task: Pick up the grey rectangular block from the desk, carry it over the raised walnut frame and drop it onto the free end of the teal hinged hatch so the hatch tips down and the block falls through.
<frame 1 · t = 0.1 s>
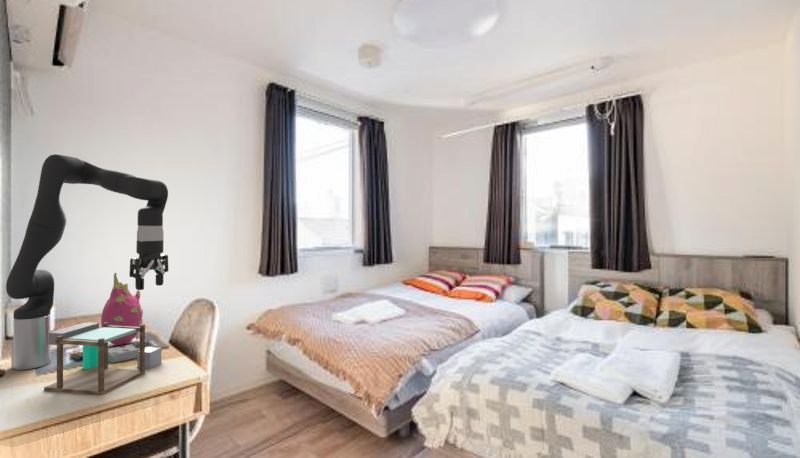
hand: (149, 287, 125), 29 cm above the table, fingers open, 8 cm apart
pink dragon fruit: (122, 345, 153), on the table
trapdoor: (94, 334, 118), point 15 cm above the table, hinge at 0.0°
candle: (93, 366, 131), on the table
handheld gaming device: (132, 357, 141), on the table
grey rectangular block: (149, 364, 133), on the table
frame: (84, 380, 119), on the table
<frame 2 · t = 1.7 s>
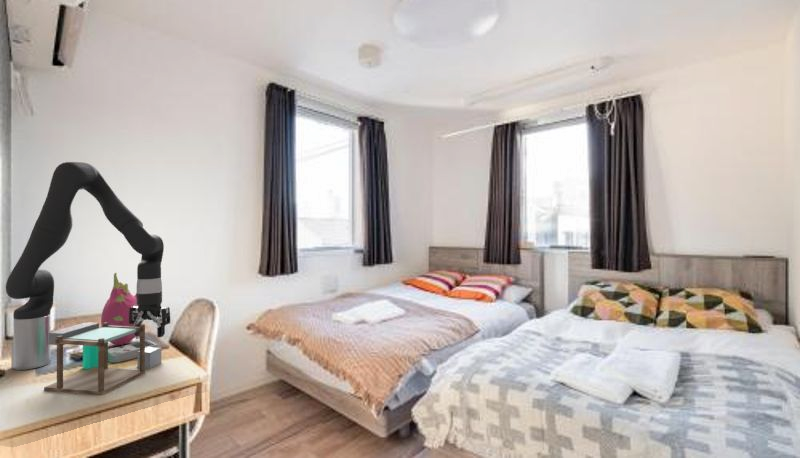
hand: (149, 336, 132), 10 cm above the table, fingers open, 8 cm apart
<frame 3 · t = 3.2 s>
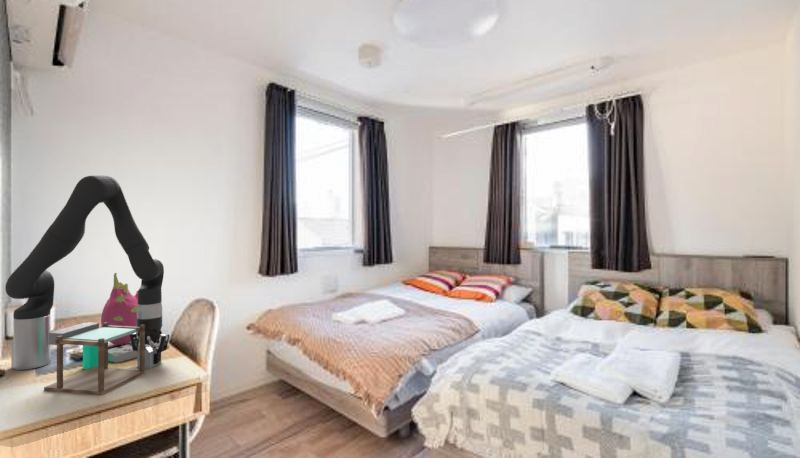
hand: (149, 362, 133), 1 cm above the table, fingers closed on grey rectangular block, 5 cm apart
grey rectangular block: (149, 364, 133), on the table, touching gripper
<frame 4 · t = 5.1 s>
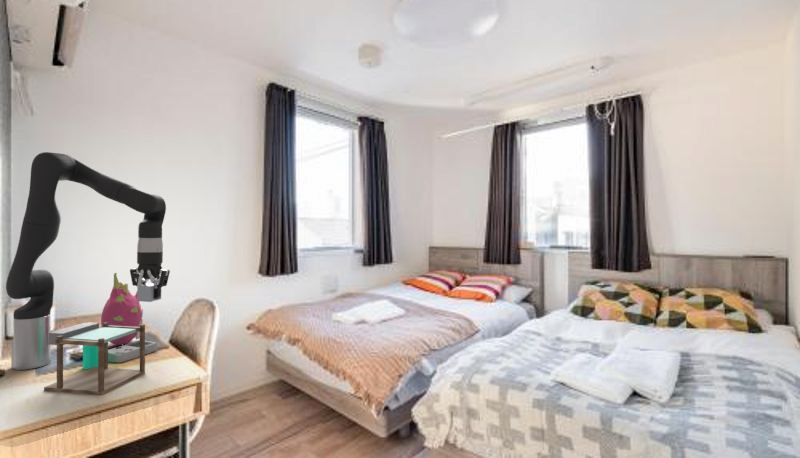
hand: (149, 297, 132), 24 cm above the table, fingers closed on grey rectangular block, 5 cm apart
grey rectangular block: (149, 300, 132), point 23 cm above the table, touching gripper
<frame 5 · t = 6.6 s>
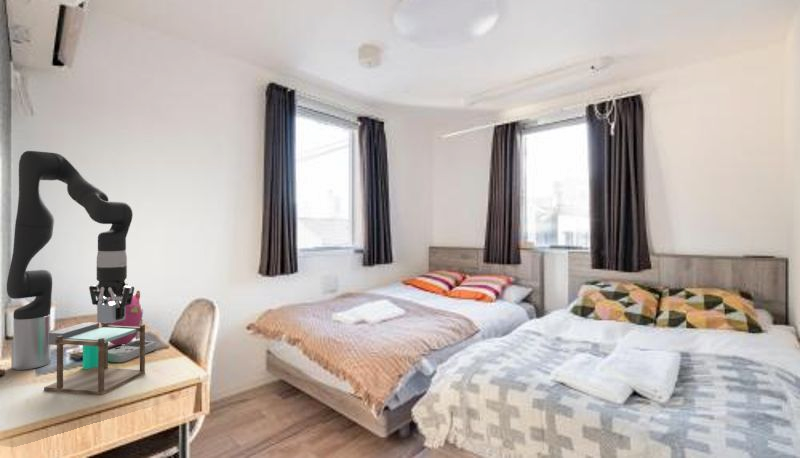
hand: (111, 318, 117), 20 cm above the table, fingers closed on grey rectangular block, 5 cm apart
grey rectangular block: (111, 320, 117), point 20 cm above the table, touching gripper
when the fingers open (19 cm above the table, at t = 7.1 s): grey rectangular block drops 13 cm and tips over, point 5 cm above the table.
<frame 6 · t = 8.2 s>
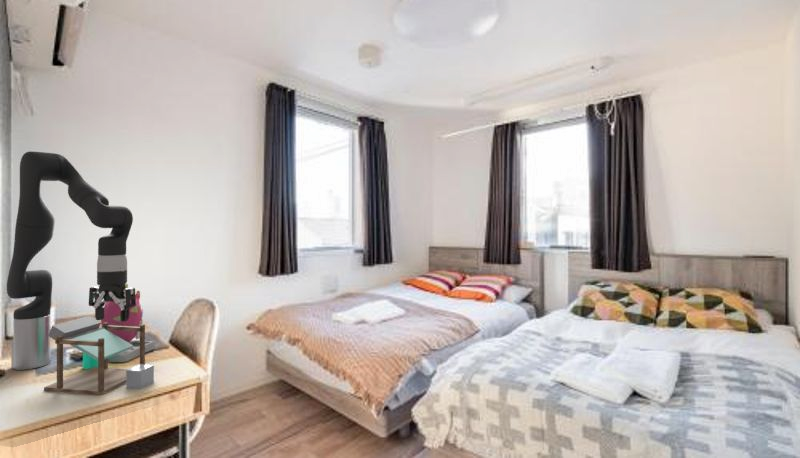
hand: (112, 320, 117), 20 cm above the table, fingers open, 8 cm apart
trapdoor: (93, 339, 118), point 13 cm above the table, hinge at -25.5°
grey rectangular block: (140, 367, 117), point 5 cm above the table, tilted 180°
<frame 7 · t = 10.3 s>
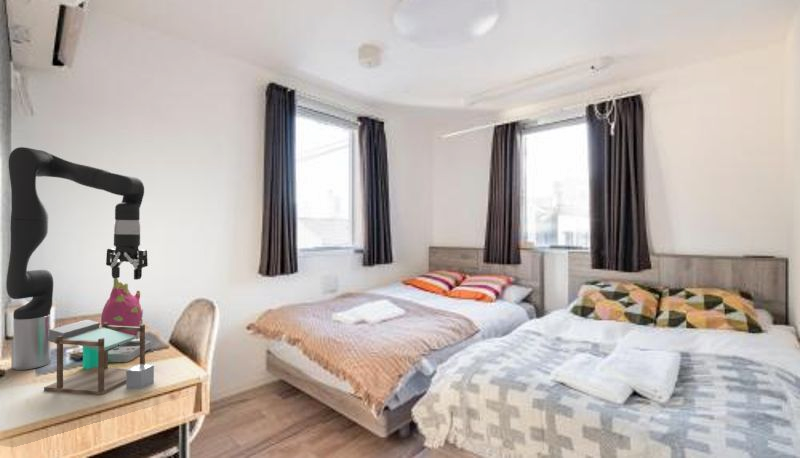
hand: (126, 278, 132), 31 cm above the table, fingers open, 8 cm apart
trapdoor: (94, 336, 118), point 14 cm above the table, hinge at -10.5°
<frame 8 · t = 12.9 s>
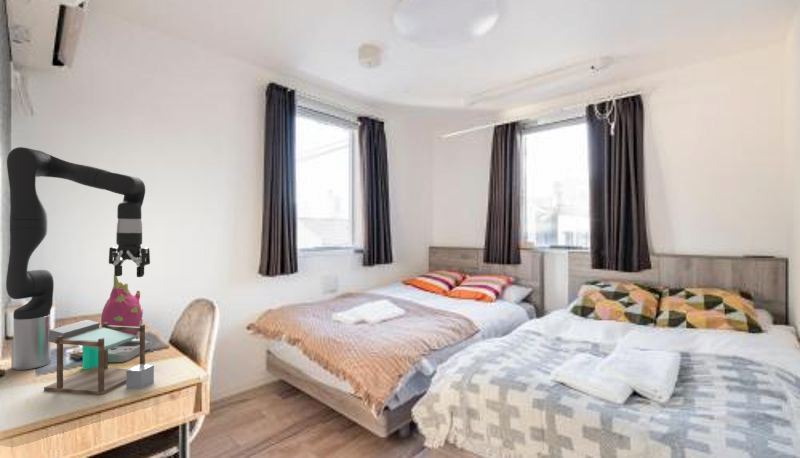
hand: (129, 276, 134), 31 cm above the table, fingers open, 8 cm apart
trapdoor: (94, 336, 118), point 14 cm above the table, hinge at -9.6°
at the end: grey rectangular block point 5.4 cm above the table; grey rectangular block 19.8 cm from the frame (horizontally); the gripper is holding nothing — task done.
